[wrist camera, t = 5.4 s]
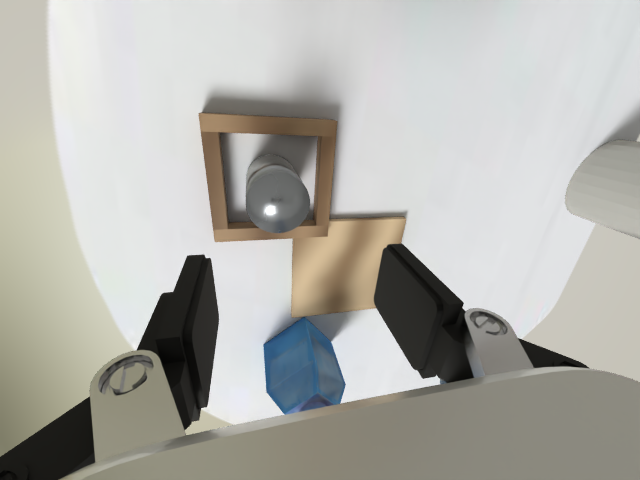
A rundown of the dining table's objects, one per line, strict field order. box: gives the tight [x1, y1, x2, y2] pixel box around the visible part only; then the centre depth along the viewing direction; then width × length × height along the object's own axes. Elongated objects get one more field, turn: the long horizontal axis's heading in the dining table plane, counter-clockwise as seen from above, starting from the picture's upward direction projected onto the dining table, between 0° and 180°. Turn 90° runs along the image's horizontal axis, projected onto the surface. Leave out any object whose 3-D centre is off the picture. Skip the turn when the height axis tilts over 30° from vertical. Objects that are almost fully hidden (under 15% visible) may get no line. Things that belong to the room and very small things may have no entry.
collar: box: [199, 113, 337, 242], centre depth 24 cm, size 10×10×2 cm
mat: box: [291, 217, 406, 318], centre depth 31 cm, size 12×12×1 cm
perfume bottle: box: [264, 317, 346, 415], centre depth 29 cm, size 6×6×12 cm
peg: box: [246, 154, 310, 233], centre depth 22 cm, size 4×4×6 cm
